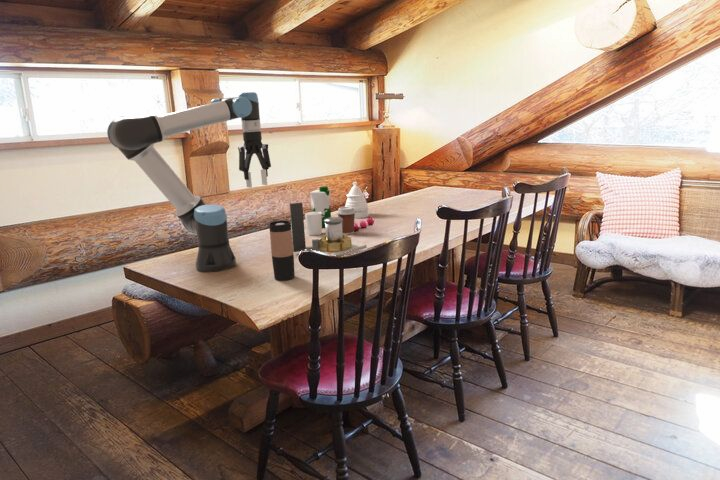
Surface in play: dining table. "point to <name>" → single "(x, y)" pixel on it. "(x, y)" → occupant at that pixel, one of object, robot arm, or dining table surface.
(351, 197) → the honey pot
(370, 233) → the dining table surface
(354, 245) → the base plate
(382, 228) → the dining table surface
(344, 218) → the coffee cup
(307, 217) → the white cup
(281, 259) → the travel mug
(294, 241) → the grey and gold stand
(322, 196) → the milk carton
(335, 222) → the white lidded jar
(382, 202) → the dining table surface
